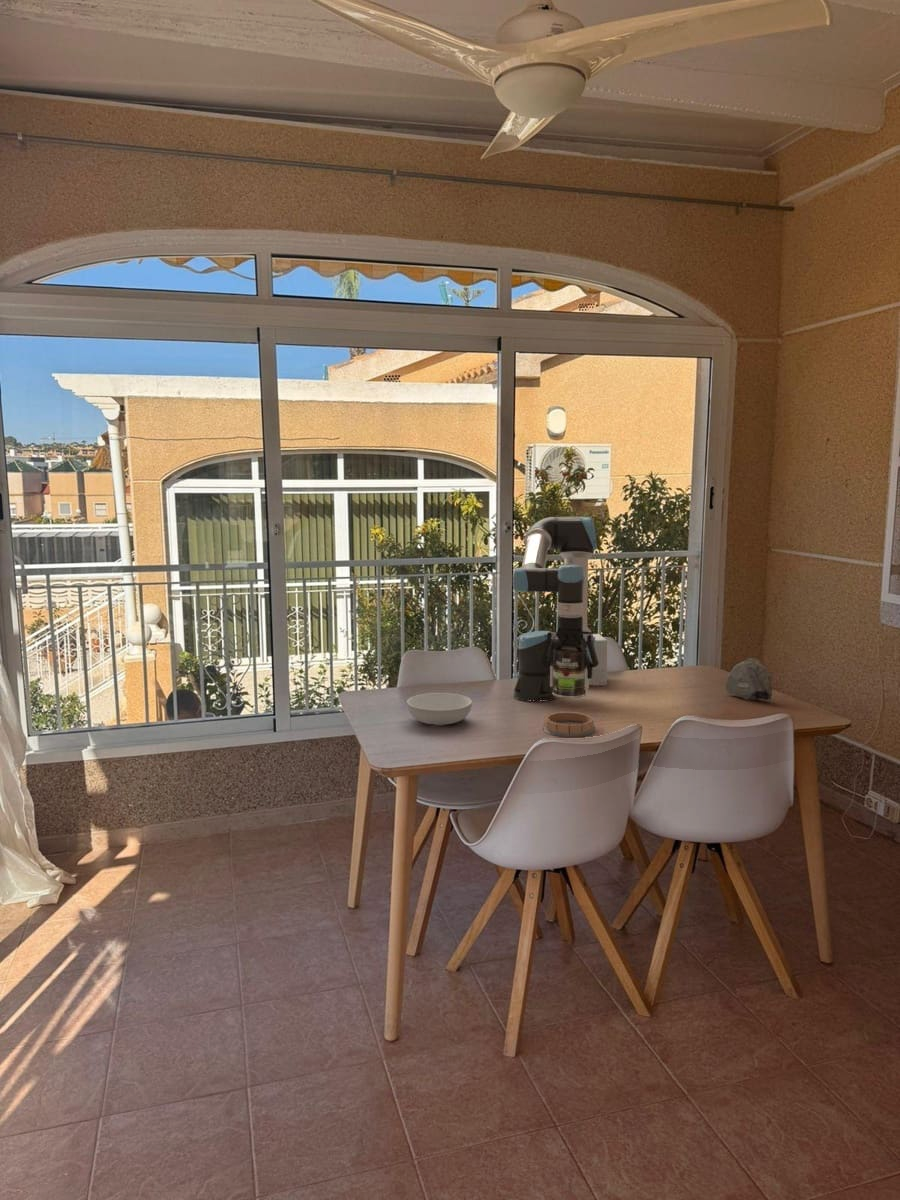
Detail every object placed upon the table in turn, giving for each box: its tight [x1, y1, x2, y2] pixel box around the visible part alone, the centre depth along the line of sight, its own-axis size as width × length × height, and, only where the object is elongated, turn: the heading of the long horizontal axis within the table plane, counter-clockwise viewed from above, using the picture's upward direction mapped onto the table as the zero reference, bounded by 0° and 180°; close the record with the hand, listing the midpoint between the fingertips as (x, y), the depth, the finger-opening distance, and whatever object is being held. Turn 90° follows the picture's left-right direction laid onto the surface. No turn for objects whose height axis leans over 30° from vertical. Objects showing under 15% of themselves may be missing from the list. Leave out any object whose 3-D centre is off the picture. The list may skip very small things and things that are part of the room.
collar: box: [542, 711, 596, 738], centre depth 252 cm, size 16×16×4 cm
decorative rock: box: [724, 657, 773, 701], centre depth 284 cm, size 16×7×15 cm, turn 33°
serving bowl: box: [406, 692, 473, 726], centre depth 262 cm, size 21×21×7 cm
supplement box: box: [589, 633, 608, 686], centre depth 311 cm, size 13×13×18 cm
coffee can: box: [552, 646, 587, 699], centre depth 249 cm, size 10×10×14 cm
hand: (569, 687), depth 250 cm, fingers closed on coffee can, 10 cm apart
